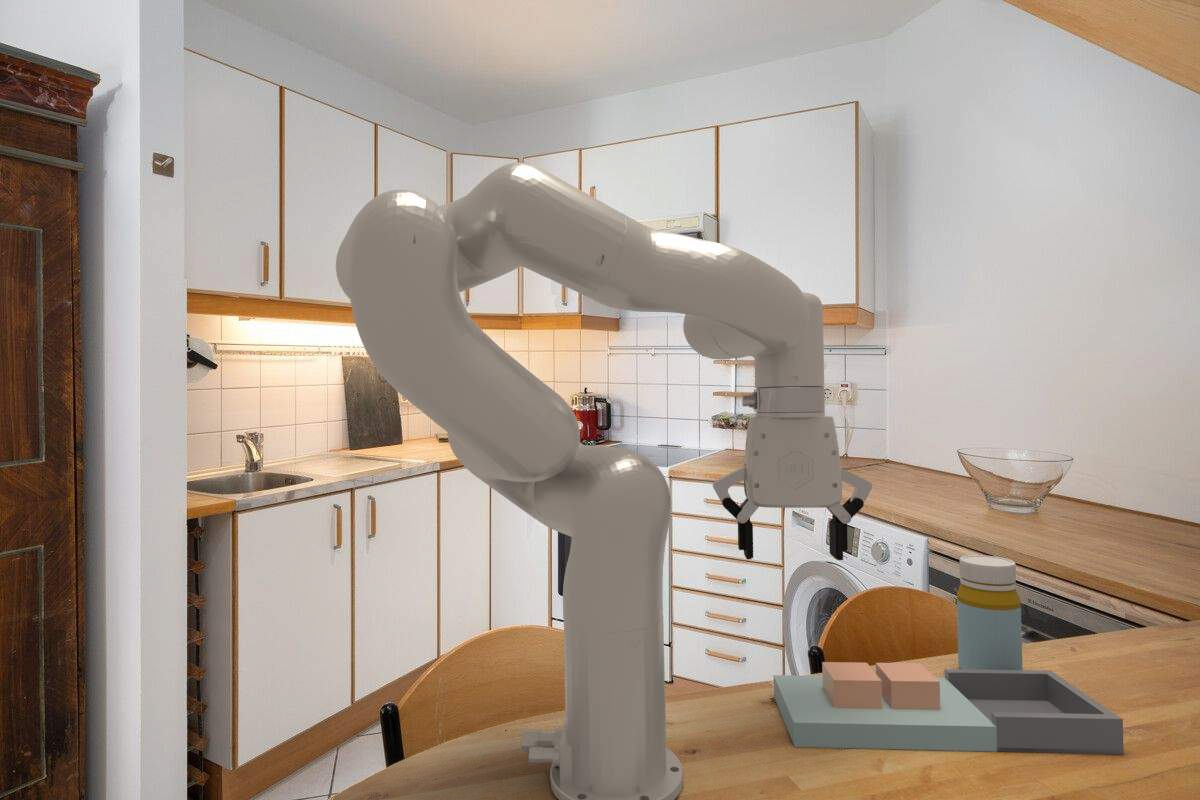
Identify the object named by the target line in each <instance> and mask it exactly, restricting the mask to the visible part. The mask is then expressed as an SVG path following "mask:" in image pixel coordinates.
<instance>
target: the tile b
mask: <svg viewBox="0 0 1200 800" xmlns="http://www.w3.org/2000/svg"><path fill="white" fill-rule="evenodd" d="M875 673H876V675H877V676H878V677H879V678H880V679H881V681H882V697H883V698H884V699H885V701H886V702H887V703H888V705H889V706H890V707H891V709H919V710H940V682H939V681H938V680H937V679H936V678H935V677H936V676H935V675H933V674H932V673H931V672H930V671H929V669H927V668H926V667H925V666H924V665H923V664H922V663H921V662H920V663H919V662H918V663H917V662H911V663H909V662H875Z"/></svg>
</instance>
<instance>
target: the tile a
mask: <svg viewBox="0 0 1200 800" xmlns="http://www.w3.org/2000/svg"><path fill="white" fill-rule="evenodd" d="M821 664H822V669H821V670H822V676H823V689H824V691H825V693H826V694H827V696H828V698H829V699H830V701H831V703H832V705H833V706H834V708H864V709H882V681H881V679H880V678H879V677H878V676H877V675H876V671H875V670H873V668H872V667H871V666H870V665H869V663H868V662H855V661H854V662H850V661H849V662H847V661H845V662H844V661H843V662H842V661H841V662H839V661H836V662H835V661H834V662H833V661H828V662H827V661H821Z"/></svg>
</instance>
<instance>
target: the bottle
mask: <svg viewBox="0 0 1200 800" xmlns="http://www.w3.org/2000/svg"><path fill="white" fill-rule="evenodd" d="M959 575H960V577H959V578H960V579H959V582H960V584H959V587H958V589H957V592H956V617H957V618H956V619H957V621H956V622H957V623H956V624H957V657H958V658H957V659H958V662H957V663H958V669H973V670H1023V669H1024V668H1023V639H1022V638H1023V635H1022V605H1021V599H1020V596H1019V594H1018V591H1017V582H1016V581H1017V564H1016V562H1015V561H1014V560H1012V559H1009V558H1006V557H1005V558H1004V557H1000V556H994V555H993V556H991V555H981V554H973V555H972V554H969V555H964V556H960V557H959Z"/></svg>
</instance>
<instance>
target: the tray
mask: <svg viewBox="0 0 1200 800" xmlns="http://www.w3.org/2000/svg"><path fill="white" fill-rule="evenodd" d="M943 672H944V678H946V679H947V680H948V681H949V682H950V683H951V684H952V685H953V686H954V687H955V688H956V689H957V690H958V691H959V692H960V693H961V694H963V695H964V696H965V697H966V698H967V699H968V700H969V701H970V702H971V703H972V704H973V705H974V706H975V707H976V708H977V709H978V710H979V711H980V712H982V713H983V714H984V715H985V716H986V717H987V718H988V719H989V720H990V721H991V722H992V723H993V724H994V725H995V726H996V727H997V752H1000V753H1001V752H1002V753H1044V754H1046V753H1047V754H1082V755H1083V754H1087V755H1088V754H1089V755H1091V754H1092V755H1093V754H1094V755H1124V753H1125V752H1124V747H1125V746H1124V721H1123V719H1124V718H1122V717H1120V716H1118V715H1117V714H1116V713H1114V712H1113V711H1112V710H1110V709H1109V708H1107V707H1106V706H1104V705H1103V704H1101V703H1099V702H1098V701H1096V700H1095V699H1094V698H1092V697H1090V696H1089V695H1088V694H1087V693H1085V692H1083V691H1082V690H1080V689H1079V688H1077V687H1076V686H1075V685H1073V684H1072V683H1070V682H1068V681H1067V680H1065V679H1064V678H1063V677H1061V676H1059V675H1058V674H1056V672H1053V671H1052V670H1045V669H1044V670H1043V669H1042V670H1040V669H1039V670H1036V669H1034V670H1033V669H1032V670H1031V669H1024V670H973V669H959V668H956V669H955V668H944V671H943Z"/></svg>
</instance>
